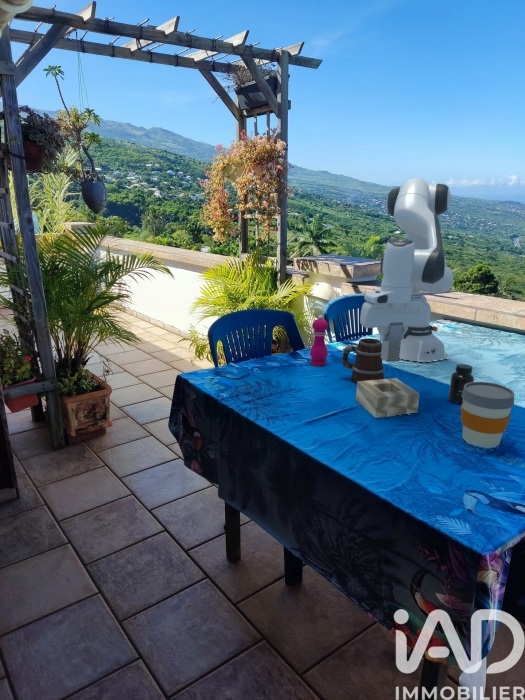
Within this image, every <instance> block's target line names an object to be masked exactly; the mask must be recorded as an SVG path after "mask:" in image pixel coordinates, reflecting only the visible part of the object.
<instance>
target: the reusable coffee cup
mask: <svg viewBox="0 0 525 700" xmlns="http://www.w3.org/2000/svg"><path fill="white" fill-rule="evenodd" d="M462 398H463V404H460V422H461V424H462V440H463V439H464V440H465V441H466V442H467V443H469V444H472V445H475V446H479V447H485V448H491V447H496V446H498V445H499V446H500V443H501V441H502V437H503V434H504V432H505V431H506V430H507V428H508V425H509V422H510V418H511V417H512V413H511V410H512V407H514V405H515V392H514V391H513V390H512V389H511V388H509V387H506V386H505V385H501V384H498V383H493V382H487V381H474V382H470V383H467V384H465V385H464V389H463V392H462ZM464 440H463V441H464ZM467 443H466V444H467ZM499 446H498V447H499Z"/></svg>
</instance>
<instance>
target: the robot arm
mask: <svg viewBox="0 0 525 700" xmlns="http://www.w3.org/2000/svg"><path fill="white" fill-rule="evenodd" d="M451 201H452V194H451V191H450V188H449V186H448V185H447V184H445V183H437V184H434V183H432V184H431V183H427V182H426V180H424V179H423V178H419V177H414V178H410V179H407V180H406V181H405V182H404V183H403V184H402V185H401V187H399V186H398V187H395V188H392V189H391V190H390V191H389V192H388V195H387V197H386V202H385V204H386V209H387V213H388V214H389V216H391V217H393V219H394V222H395V223H396V225H397V226H398V227H399V228H400V229H401V230H403V231H404V232H405V238H403V237H398V238H397V237H396V238H391V239H389V240H388V241H387V242H386V245H385V249H384V254H383V255H382V256H381V257H380V269H379V270H380V271H379V272H380V273H381V274H382V276H383V277H382V280H381V283H380V287H379V288H376V289H374V290H372V291H368V292H366V293H365V294H364V296H363V297H364V301H365V302H363V304H362V306H361V311H360V317H359V322H360V325H361V326H362V327H364V329H365V328H366V329H371V328H372V329H374V328H375V329H376V330H377V331H378V333H379V340H380V341H381V342H382V341H387V335H385V334H384V332H383V331H384V330H385V327H390V326H389V325H390V323H402V322H403V325H402V335H401V345H400V356H399V358H400V359H399V360H402V359H403V360H402V361H406V360H409V361H408V362H413V361H417V362H416V363H419V362H428V361H434V360H441V359H447V358H450V359H451V357H450V355H449V354H448V353H446V352H445V351H446V349H445V344H444V343H443V342H442V340H441V339H439V338H438V337H437V336H436V335H434V334H433V332H434V333H436V332H438V331H439V330H438V329H439V328H438V326H435V325H433V326H432V325H431V323H430V322H431V313H432V308H431V305H430V304H429V302H428V301H427V300H428V299H427V297H426V296H424V295H423V294H421V292H422V293H429V294H441V293H446V292H447V291H449V290H450V289H451V288H452V286H453V283H454V273H453V272H452V270H451V268H449V267H448V266H447V260H446V255H445V251H444V246H443V239H442V238H443V237H442V229H441V224H440V219H439V217H438V216H440V215H443V214H444V213H446V212H447V211H448V210H449V207H450V205H451V203H452V202H451Z"/></svg>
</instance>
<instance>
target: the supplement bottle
mask: <svg viewBox="0 0 525 700" xmlns="http://www.w3.org/2000/svg"><path fill="white" fill-rule="evenodd" d="M472 373H473V366H472V365H469V364H466V363H459V364H456V365H455V371H454V372H453V373H452V374H451V377H450V383H449V389H448V396H447V397H448V398H449V399H450V400H451V401H454V402H458V403H463V398H462V392H463V389H464V385H465V384H467V383H470V382H475V377H474V375H473V374H472ZM449 399H448V400H449ZM450 400H449V401H450ZM451 401H450V402H451ZM454 402H453V403H454Z"/></svg>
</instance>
